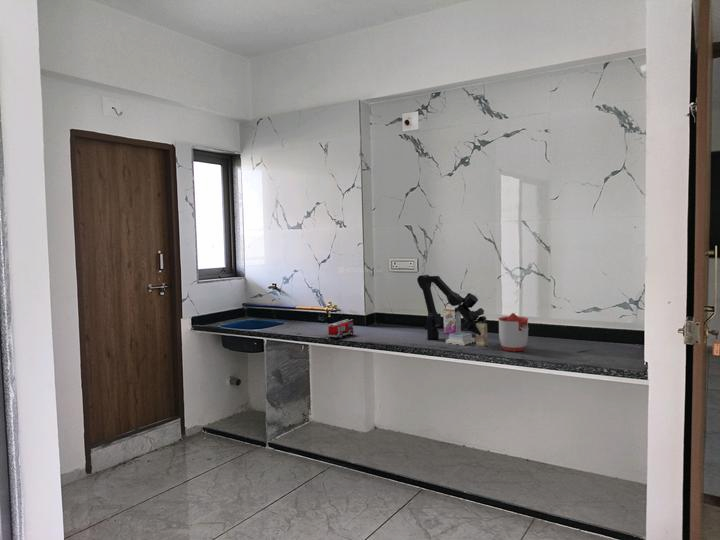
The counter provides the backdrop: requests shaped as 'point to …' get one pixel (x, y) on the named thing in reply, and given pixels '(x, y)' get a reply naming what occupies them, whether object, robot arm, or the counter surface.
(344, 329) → the toy fire truck
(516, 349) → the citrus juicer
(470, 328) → the robot arm
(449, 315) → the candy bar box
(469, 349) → the counter surface
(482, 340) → the birch block
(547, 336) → the counter surface
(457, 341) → the tower base
